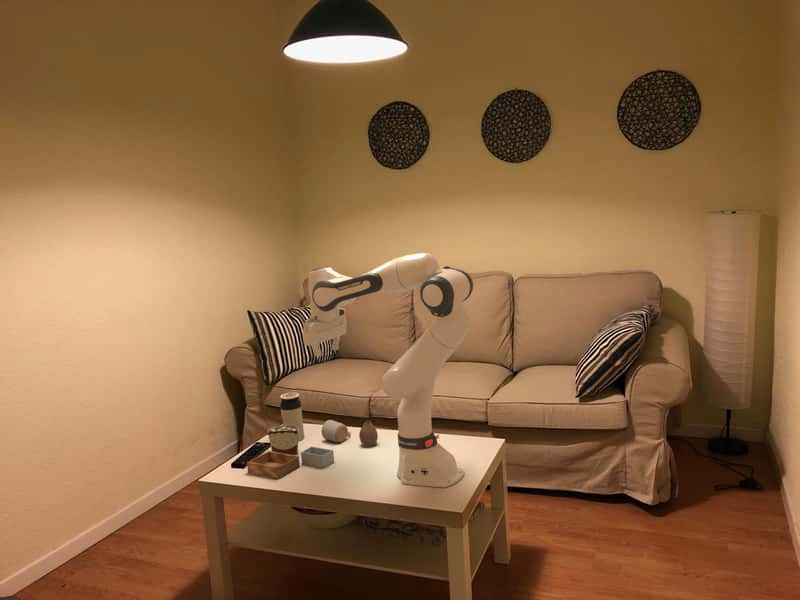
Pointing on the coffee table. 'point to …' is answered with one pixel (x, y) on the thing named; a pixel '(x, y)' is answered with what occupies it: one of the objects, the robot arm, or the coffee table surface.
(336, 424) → the ceramic mug
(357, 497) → the coffee table surface
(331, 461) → the small crate
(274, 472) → the big crate
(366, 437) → the vase
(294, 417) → the travel mug
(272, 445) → the food container
